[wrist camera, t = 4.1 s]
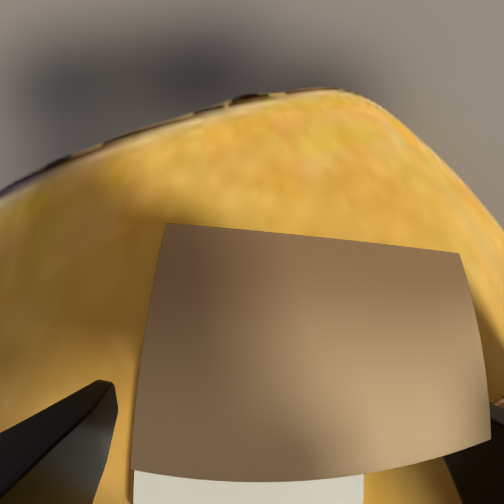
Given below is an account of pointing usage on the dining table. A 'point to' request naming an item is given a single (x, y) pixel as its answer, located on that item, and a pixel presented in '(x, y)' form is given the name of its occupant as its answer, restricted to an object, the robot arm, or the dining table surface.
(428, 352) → the block
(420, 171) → the dining table surface
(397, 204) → the dining table surface
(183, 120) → the dining table surface
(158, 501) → the board
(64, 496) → the robot arm
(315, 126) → the dining table surface
